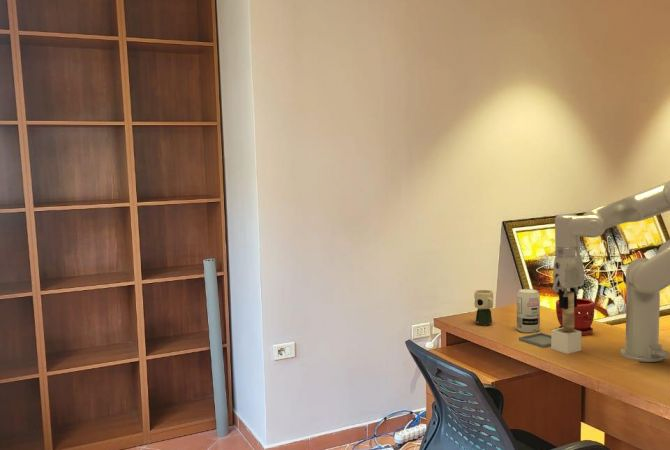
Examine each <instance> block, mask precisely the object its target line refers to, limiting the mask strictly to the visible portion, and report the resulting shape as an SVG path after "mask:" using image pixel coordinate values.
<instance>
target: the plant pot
mask: <svg viewBox="0 0 670 450" xmlns="http://www.w3.org/2000/svg"><path fill="white" fill-rule="evenodd" d="M555 310H556V311H555V312H556V317H557V320H558V323H559V325H560V326H559V327H558V329H559V328H563V309H562V308H560V307H559V299H557V300H556V301H555ZM594 318H595V302H594V301H593V300H591V299H587V298H578V297H577V307H574V330H578V331H581V337H582V336H589V335H590V334H592V333H593V332H594V329H593V327H591V326H592V324H593V322H594Z"/></svg>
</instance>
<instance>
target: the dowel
mask: <svg viewBox="0 0 670 450" xmlns="http://www.w3.org/2000/svg"><path fill="white" fill-rule="evenodd" d="M566 297H568V309H563V308H562V309H563V332H567V333H572V332H574V292H571V291H569V290H567V296H566Z"/></svg>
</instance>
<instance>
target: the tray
mask: <svg viewBox="0 0 670 450" xmlns="http://www.w3.org/2000/svg"><path fill="white" fill-rule="evenodd" d="M518 340H519V341H520V342H523V343H525V344H529V345H532V346H536V347H539V348H542V349H546V348H549V347H550V348H551V334H548V333H545V332H535V333H531V334H527V335H524V336H520V337H518Z"/></svg>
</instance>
